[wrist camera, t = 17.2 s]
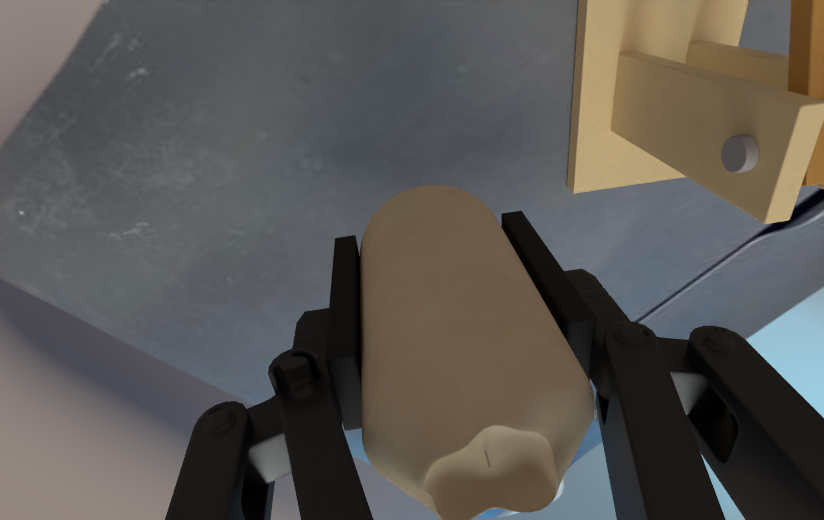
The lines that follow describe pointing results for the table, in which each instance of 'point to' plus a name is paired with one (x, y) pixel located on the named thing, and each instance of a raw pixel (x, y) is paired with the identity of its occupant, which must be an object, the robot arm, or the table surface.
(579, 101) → the bracket
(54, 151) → the table surface
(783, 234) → the table surface
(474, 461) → the candle
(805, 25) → the lever
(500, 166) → the table surface
